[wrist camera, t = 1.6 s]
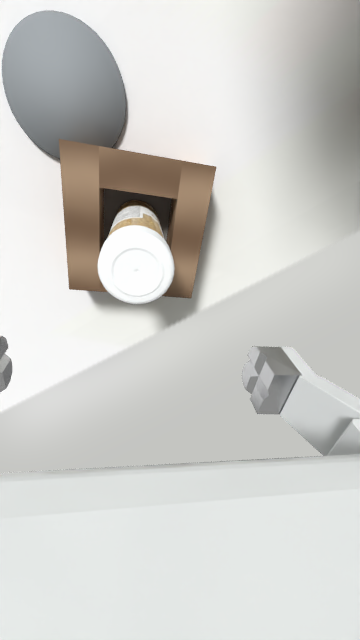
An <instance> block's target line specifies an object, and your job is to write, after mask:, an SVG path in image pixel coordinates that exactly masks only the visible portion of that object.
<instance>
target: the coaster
mask: <svg viewBox="0 0 360 640" xmlns="http://www.w3.org/2000/svg"><path fill="white" fill-rule="evenodd" d="M2 77H3V85H4V90H5V94H6V97H7V100H8V103H9V106H10V108H11V110H12V113H13V114H14V116H15V118H16V120H17V122H18V123H19V125H20V126H21V128H22V129H23V130H24V132H25V133H26V134H27V135H28V137H29V138H30V139H31V140H32V141H33V142H34V143H35V144H36V145H38V146H39V147H40V148H41V149H43V150H44V151H46V152H47V153H49V154H51V155H52V156H54V157H56V158H59V159H60V150H59V139H63V140H68V141H74V142H79V143H85V144H91V145H96V146H102V147H108V148H112V147H113V145H114V144H115V142H116V141H117V139H118V137H119V135H120V133H121V131H122V128H123V124H124V119H125V111H126V98H125V90H124V85H123V81H122V77H121V74H120V71H119V68H118V66H117V64H116V61H115V59H114V57H113V56H112V54H111V52H110V50H109V49H108V47H107V46H106V44H105V43H104V42H103V40H102V39H101V38H100V37H99V36H98V35H97V33H96V32H94V31H93V30H92V29H91V28H90V27H89V26H88V25H86V24H85V23H84V22H82V21H81V20H79V19H77V18H75V17H73V16H71V15H69V14H66V13H63V12H58V11H41V12H36V13H33V14H31V15H29V16H27V17H26V18H24V19H23V20H21V21H20V22H19V23H18V24H17V25H16V26H15V28H14V29H13V31H12V32H11V34H10V35H9V38H8V40H7V42H6V45H5V49H4V53H3V60H2Z"/></svg>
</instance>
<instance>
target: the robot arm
mask: <svg viewBox="0 0 360 640" xmlns="http://www.w3.org/2000/svg"><path fill="white" fill-rule="evenodd" d="M7 349H8V344H7V340H6V338H4V337H3V336H0V392H1V391H3V390H5V389H6V388H7V386H8V384H9V382H10V379H11V375H12V362H11V358H9V357H8V356H7V355H6V354H5V352H6V350H7ZM248 357H249V359H250V360H249V361H248V362H247V363H246V364H245V365H244V367H243V371H242V380H243V385H244V387H245V389H246V390H247V391H248V392H250V393H251V394H252V395H251V398H250V400H251V402H252V404H253V406H254V408H255V410H256V412H257V414H280V416H281V417H282V418H283V419H284V420H285V421H286V422H287V423H288V424H289V425H291V426H292V427H293V428H294V429H295V430H296V431H297V432H298V433H299V434H300V435H302V436H303V437H304V438H305V439H306V440H307V441H308V442H309V443H310V444H311V445H312V446H313V447H315V448H316V449H317V450H318V451H319V452H320V453H321V454H322V455H323V456H314V457H295V458H275V459H257V460H239V461H220V462H201V463H182V464H164V465H144V466H126V467H105V468H86V469H69V470H68V469H67V470H48V471H29V472H13V473H12V472H10V473H0V640H360V398H358V397H357V396H355V395H353V394H351V393H350V392H348V391H346V390H344V389H342V388H341V387H339V386H337V385H335V384H334V383H332V382H330V381H328V380H327V379H325V378H323V377H321V376H316V374H315V373H314V372H313V371H312V370H311V368H310V367H309V366H308V365H307V364H306V363H305V361H304V360H303V359H302V358H301V356H300V355H299V354H298V353H297V352H296V350H295V349H294V348H292V347H260V346H252V347H251V349H250V350H249V353H248Z"/></svg>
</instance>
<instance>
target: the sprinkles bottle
mask: <svg viewBox="0 0 360 640" xmlns="http://www.w3.org/2000/svg"><path fill="white" fill-rule="evenodd" d="M174 269H175V267H174V260H173V256H172V253H171V251H170V248H169V246H168V244H167V242H166V241H165V240H164V236H163V232H162V229H161V226H160V223H159V218H158V215H157V213H156V211H155V210H154V209H153V207H152V206H150V205H149V204H147V203H146V202H143V201H139V200H131V201H129V202H126V203H124V204H123V205H121V206H120V208H119V209H118V210H117V213H116V215H115V219H114V222H113V224H112V227H111V230H110V233H109V235H108V238H107V239H106V241H105V242H104V244H103V246H102V249H101V251H100V255H99V259H98V274H99V278H100V280H101V282H102V284H103V286H104V287H105V289H106V290H107V291H108V292H109V293H110V294H111V295H112V296H114V297H115V298H117V299H118V300H120V301H123V302H126V303H130V304H145V303H149V302H152V301H154V300H156V299H158V298H159V297H161V296H162V295H163V294H164V293H165V292H166V291H167V290H168V288H169V287H170V285H171V283H172V280H173V277H174Z"/></svg>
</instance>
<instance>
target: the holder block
mask: <svg viewBox="0 0 360 640" xmlns="http://www.w3.org/2000/svg"><path fill="white" fill-rule="evenodd" d="M59 150H60V164H61V178H62V193H63V207H64V221H65V235H66V249H67V263H68V278H69V289H73V290H87V291H101V292H108V291H107V290H106V289H105V287H104V286H103V284H102V282H101V280H100V278H99V274H98V259H99V255H100V251H101V249H102V246H103V244H104V188H106V189H113V190H120V191H127V192H133V193H140V194H147V195H154V196H160V197H167V198H172V199H171V207H170V215H169V224H168V232H167V240H166V242H167V244H168V246H169V248H170V251H171V253H172V256H173V260H174V267H175V269H174V277H173V280H172V283H171V285H170V287H169V288H168V290H167V291H166V292H165V293H164V294H163V295H162V296H169V297H182V298H191V296H192V291H193V286H194V281H195V275H196V270H197V265H198V260H199V254H200V249H201V244H202V239H203V234H204V228H205V223H206V218H207V213H208V207H209V202H210V197H211V192H212V187H213V181H214V176H215V171H216V167H214V166H209V165H203V164H197V163H192V162H186V161H181V160H175V159H169V158H164V157H158V156H152V155H147V154H141V153H136V152H130V151H124V150H119V149H113V148H108V147H102V146H96V145H91V144H85V143H79V142H74V141H68V140H63V139H59Z"/></svg>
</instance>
